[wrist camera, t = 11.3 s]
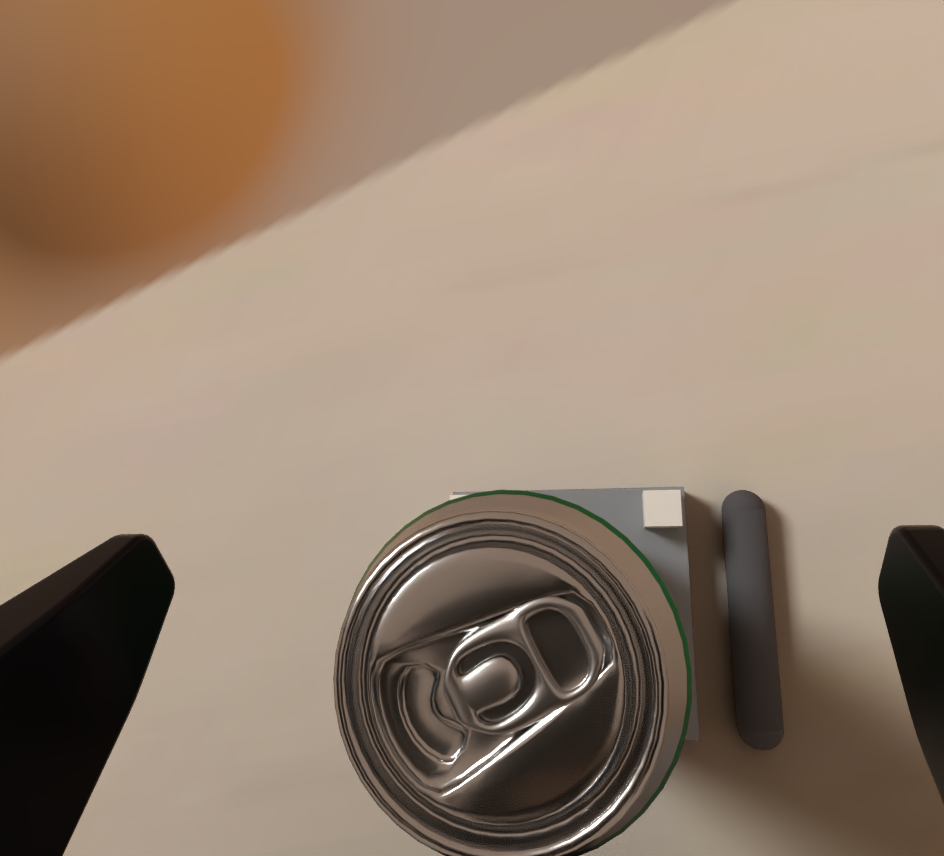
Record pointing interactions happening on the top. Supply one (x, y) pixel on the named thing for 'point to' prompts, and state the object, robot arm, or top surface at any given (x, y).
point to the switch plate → (648, 544)
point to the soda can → (512, 678)
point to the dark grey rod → (752, 621)
